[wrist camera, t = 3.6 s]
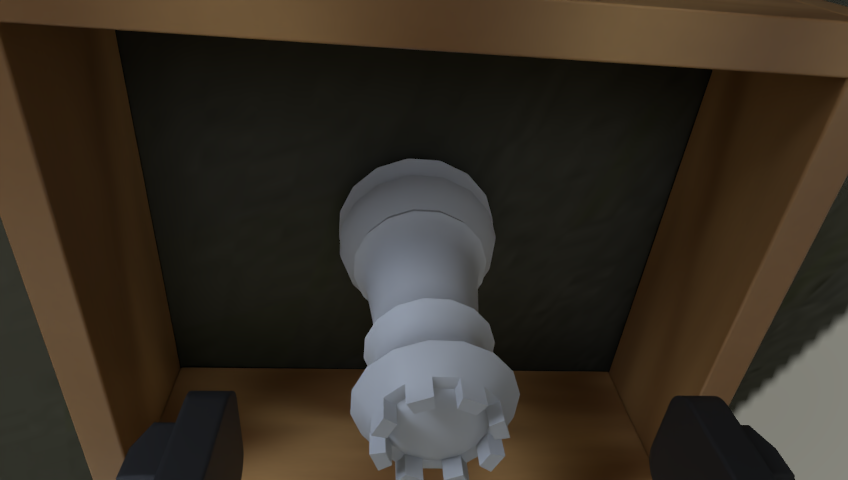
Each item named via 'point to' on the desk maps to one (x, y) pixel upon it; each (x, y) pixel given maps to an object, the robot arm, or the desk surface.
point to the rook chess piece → (426, 321)
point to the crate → (331, 388)
